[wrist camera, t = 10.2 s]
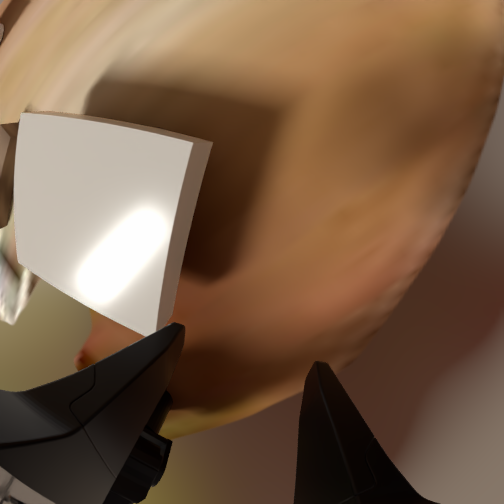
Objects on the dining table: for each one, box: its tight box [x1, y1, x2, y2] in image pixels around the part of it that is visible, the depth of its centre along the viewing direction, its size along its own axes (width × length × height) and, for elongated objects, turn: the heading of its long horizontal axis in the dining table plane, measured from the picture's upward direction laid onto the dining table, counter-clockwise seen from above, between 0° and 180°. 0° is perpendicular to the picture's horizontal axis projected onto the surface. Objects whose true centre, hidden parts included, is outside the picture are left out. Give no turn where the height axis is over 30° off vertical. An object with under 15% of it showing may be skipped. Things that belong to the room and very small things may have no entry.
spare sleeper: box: [0, 123, 19, 228], centre depth 19 cm, size 12×3×3 cm, turn 141°
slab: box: [14, 111, 213, 337], centre depth 15 cm, size 12×14×3 cm
